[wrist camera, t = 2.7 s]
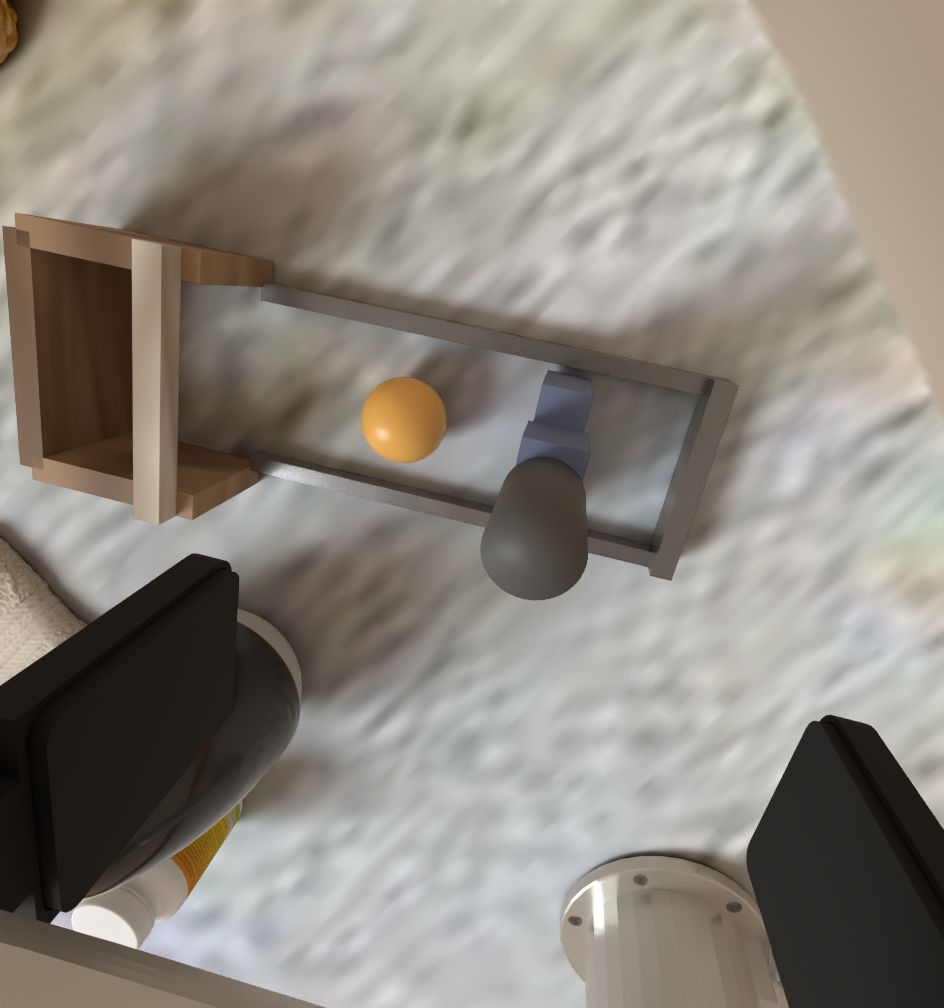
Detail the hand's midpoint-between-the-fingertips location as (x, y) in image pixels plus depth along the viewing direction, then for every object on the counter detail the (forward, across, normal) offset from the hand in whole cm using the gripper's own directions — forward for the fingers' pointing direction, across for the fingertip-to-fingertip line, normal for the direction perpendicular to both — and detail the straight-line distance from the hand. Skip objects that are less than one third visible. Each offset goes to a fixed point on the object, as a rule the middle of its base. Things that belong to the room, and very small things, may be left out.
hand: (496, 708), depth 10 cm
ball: (+19, +7, +1) cm, 20 cm away
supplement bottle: (+21, +17, +30) cm, 40 cm away
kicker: (+21, 0, +1) cm, 21 cm away
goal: (+21, +19, +1) cm, 28 cm away
